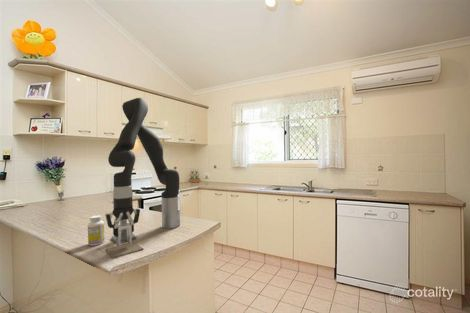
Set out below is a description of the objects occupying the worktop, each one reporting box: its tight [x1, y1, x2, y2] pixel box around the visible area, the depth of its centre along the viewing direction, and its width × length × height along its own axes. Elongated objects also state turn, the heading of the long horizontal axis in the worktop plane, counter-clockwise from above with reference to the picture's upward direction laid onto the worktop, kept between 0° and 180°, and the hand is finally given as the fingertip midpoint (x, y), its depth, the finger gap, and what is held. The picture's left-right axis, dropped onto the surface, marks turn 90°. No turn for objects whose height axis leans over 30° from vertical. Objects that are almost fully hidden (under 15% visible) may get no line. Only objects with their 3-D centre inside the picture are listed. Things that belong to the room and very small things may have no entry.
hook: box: [115, 222, 133, 247], centre depth 100 cm, size 5×4×8 cm
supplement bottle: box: [87, 214, 105, 247], centre depth 108 cm, size 7×7×13 cm
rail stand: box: [110, 219, 137, 244], centre depth 111 cm, size 9×16×20 cm, turn 42°
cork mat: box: [105, 240, 144, 259], centre depth 99 cm, size 12×12×1 cm
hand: (123, 234), depth 100 cm, fingers closed on hook, 5 cm apart
